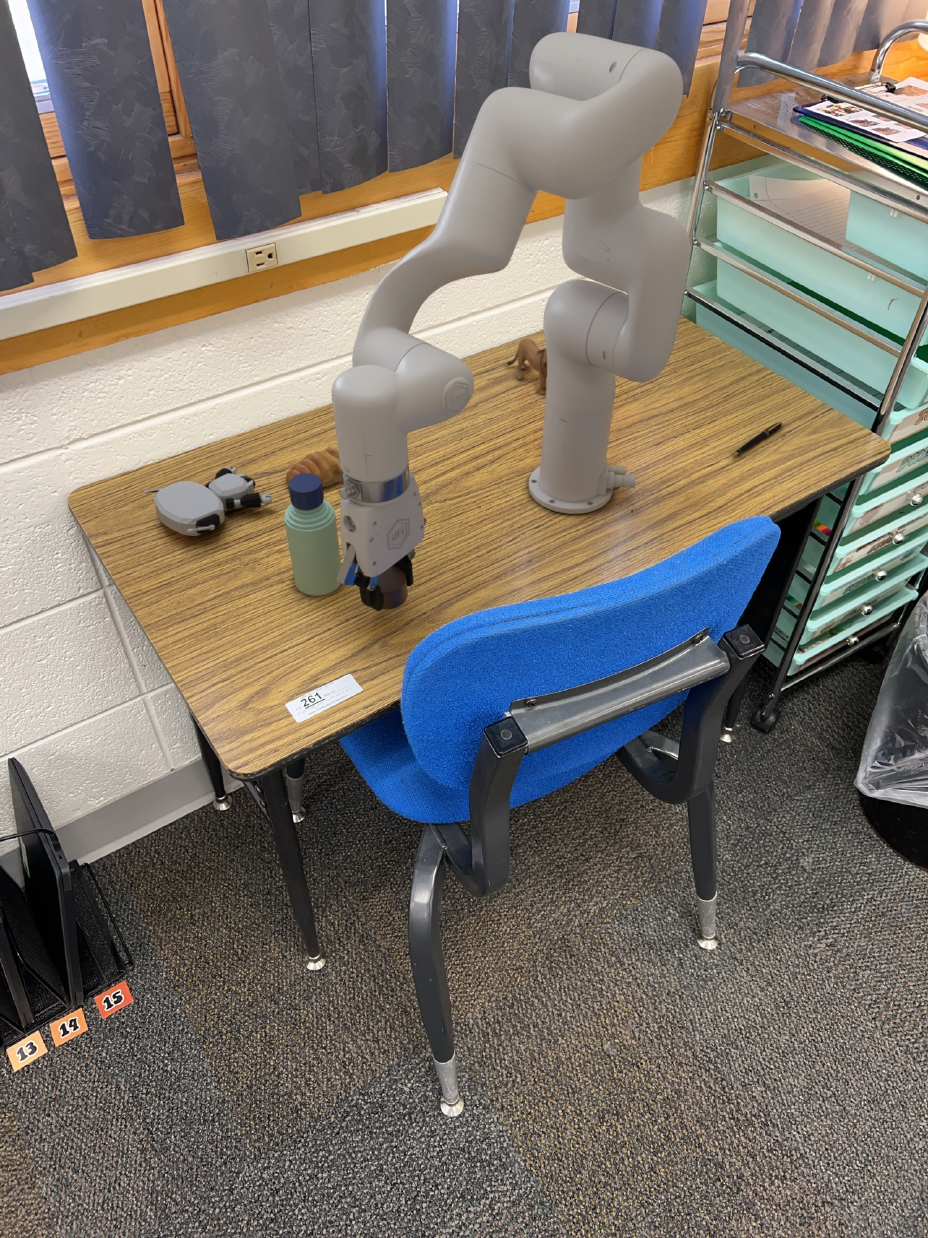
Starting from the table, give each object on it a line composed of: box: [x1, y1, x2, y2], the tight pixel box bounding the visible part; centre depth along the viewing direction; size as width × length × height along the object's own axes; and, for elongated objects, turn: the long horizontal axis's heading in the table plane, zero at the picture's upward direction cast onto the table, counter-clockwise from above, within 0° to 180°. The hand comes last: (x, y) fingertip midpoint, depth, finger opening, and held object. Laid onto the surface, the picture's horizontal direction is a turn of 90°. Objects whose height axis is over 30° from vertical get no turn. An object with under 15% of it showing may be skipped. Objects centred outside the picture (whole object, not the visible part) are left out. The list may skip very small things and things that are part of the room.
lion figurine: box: [505, 338, 547, 396], centre depth 157 cm, size 15×5×9 cm, turn 44°
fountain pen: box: [731, 421, 783, 457], centre depth 147 cm, size 14×1×2 cm, turn 133°
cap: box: [288, 473, 325, 510], centre depth 113 cm, size 4×4×3 cm
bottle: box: [283, 499, 342, 597], centre depth 118 cm, size 6×6×16 cm
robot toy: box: [142, 466, 273, 537], centre depth 132 cm, size 12×4×15 cm
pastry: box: [285, 446, 343, 488], centre depth 138 cm, size 9×7×4 cm
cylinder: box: [366, 566, 409, 611], centre depth 114 cm, size 5×5×3 cm
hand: (387, 592), depth 115 cm, fingers closed on cylinder, 5 cm apart
